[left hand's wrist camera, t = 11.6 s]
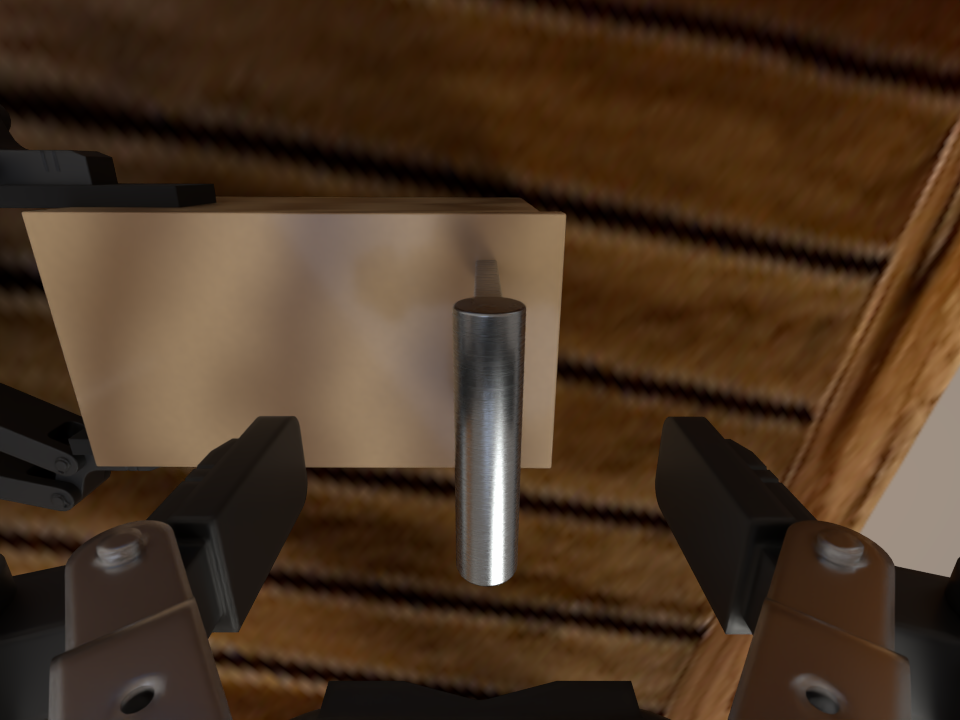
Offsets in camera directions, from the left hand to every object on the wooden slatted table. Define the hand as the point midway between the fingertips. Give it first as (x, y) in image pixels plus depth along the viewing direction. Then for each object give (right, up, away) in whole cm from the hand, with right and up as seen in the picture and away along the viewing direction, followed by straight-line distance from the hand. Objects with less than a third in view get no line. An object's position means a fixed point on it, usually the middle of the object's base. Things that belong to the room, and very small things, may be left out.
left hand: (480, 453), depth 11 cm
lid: (-6, +3, +7) cm, 10 cm away
